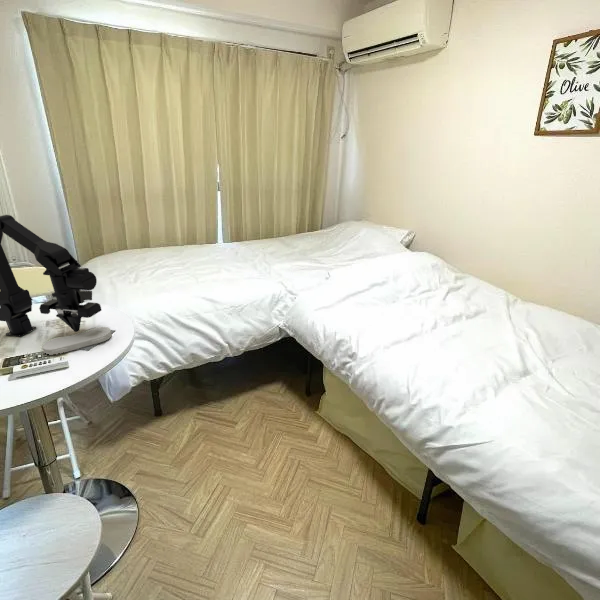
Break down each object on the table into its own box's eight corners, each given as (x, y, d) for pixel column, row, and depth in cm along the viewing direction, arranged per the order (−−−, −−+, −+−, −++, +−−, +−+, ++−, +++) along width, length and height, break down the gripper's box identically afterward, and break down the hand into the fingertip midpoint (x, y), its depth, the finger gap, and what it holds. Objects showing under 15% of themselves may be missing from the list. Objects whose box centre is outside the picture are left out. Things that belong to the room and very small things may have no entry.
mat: (66, 348, 120) (66, 347, 120) (95, 329, 132) (95, 328, 131) (88, 350, 118) (88, 349, 118) (115, 331, 130) (115, 330, 130)
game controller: (43, 347, 120) (44, 359, 114) (41, 341, 119) (42, 352, 113) (109, 330, 130) (114, 340, 124) (108, 324, 129) (112, 334, 123)
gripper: (107, 280, 124) (117, 322, 130) (59, 277, 128) (71, 318, 134) (82, 293, 114) (94, 338, 120) (31, 289, 118) (46, 333, 124)
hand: (77, 331), depth 125 cm, fingers closed
